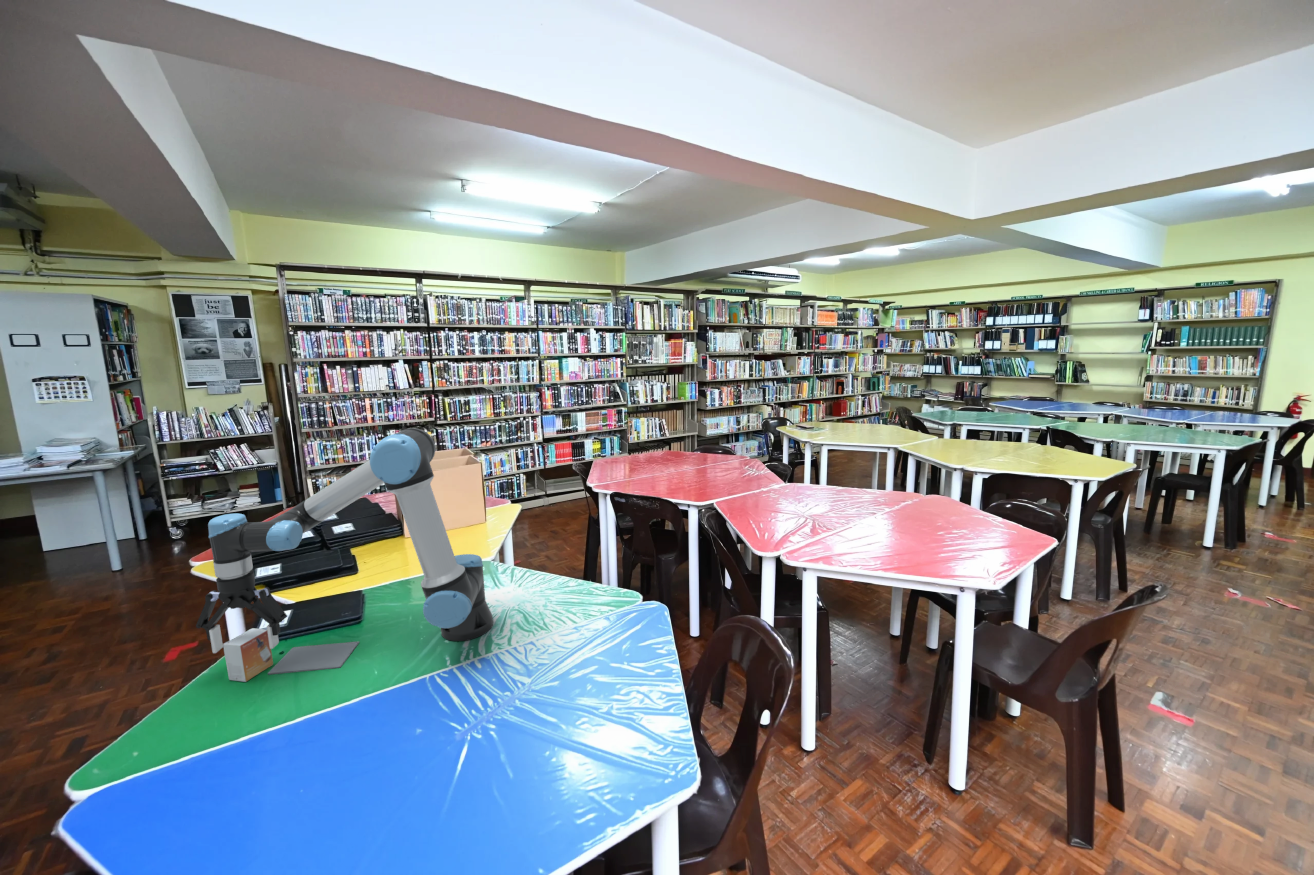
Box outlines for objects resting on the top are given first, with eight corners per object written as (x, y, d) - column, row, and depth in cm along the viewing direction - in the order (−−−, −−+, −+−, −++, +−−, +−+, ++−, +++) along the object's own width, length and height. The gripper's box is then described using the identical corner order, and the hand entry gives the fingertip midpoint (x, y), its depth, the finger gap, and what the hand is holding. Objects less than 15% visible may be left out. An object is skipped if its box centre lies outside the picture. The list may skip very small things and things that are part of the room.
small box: (245, 682, 130) (239, 646, 129) (228, 680, 131) (221, 643, 130) (274, 664, 138) (268, 629, 136) (257, 661, 139) (252, 627, 137)
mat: (359, 642, 148) (359, 641, 148) (340, 667, 136) (340, 666, 136) (293, 648, 145) (292, 647, 145) (267, 674, 134) (267, 673, 133)
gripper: (295, 564, 135) (305, 636, 139) (192, 570, 132) (204, 643, 135) (279, 576, 128) (289, 652, 132) (169, 583, 124) (182, 660, 128)
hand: (246, 648), depth 133 cm, fingers open, 13 cm apart
